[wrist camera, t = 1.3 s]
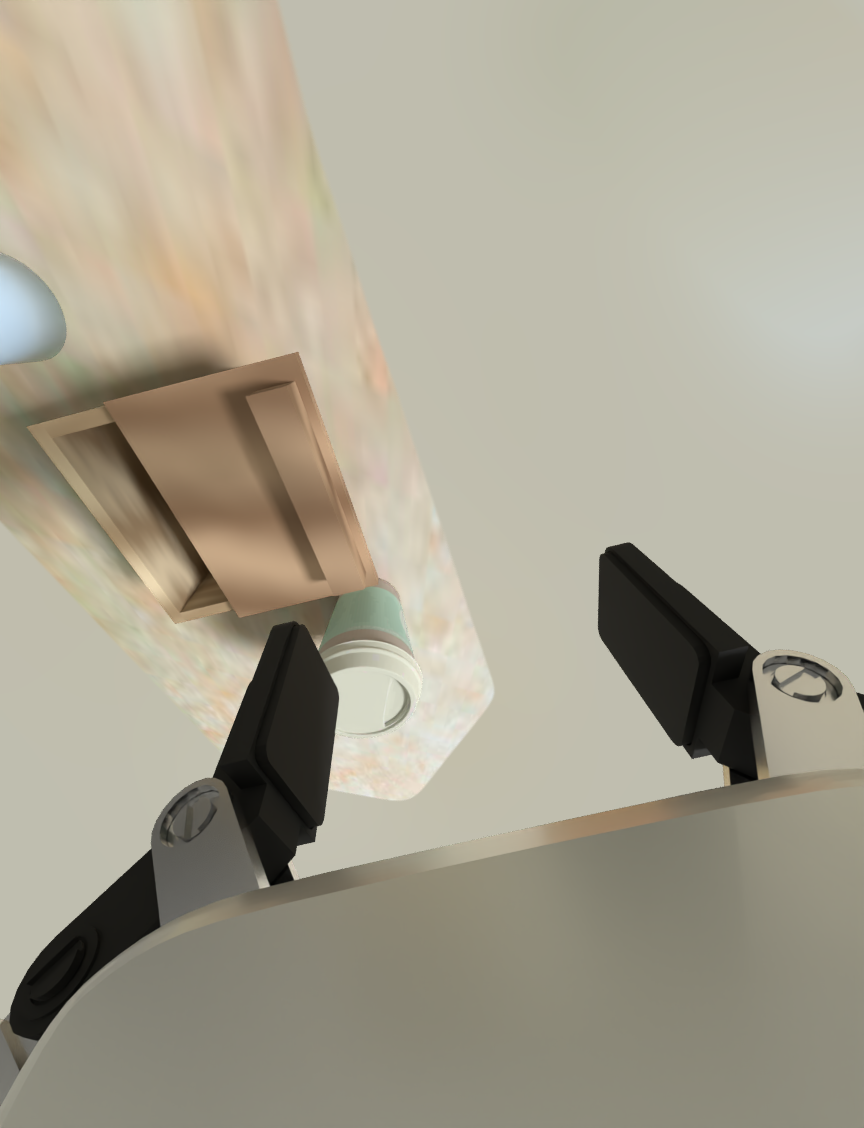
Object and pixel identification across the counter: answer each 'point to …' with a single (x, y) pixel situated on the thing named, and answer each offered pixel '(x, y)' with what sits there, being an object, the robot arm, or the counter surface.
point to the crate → (131, 511)
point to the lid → (252, 482)
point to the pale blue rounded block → (27, 315)
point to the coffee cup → (371, 662)
